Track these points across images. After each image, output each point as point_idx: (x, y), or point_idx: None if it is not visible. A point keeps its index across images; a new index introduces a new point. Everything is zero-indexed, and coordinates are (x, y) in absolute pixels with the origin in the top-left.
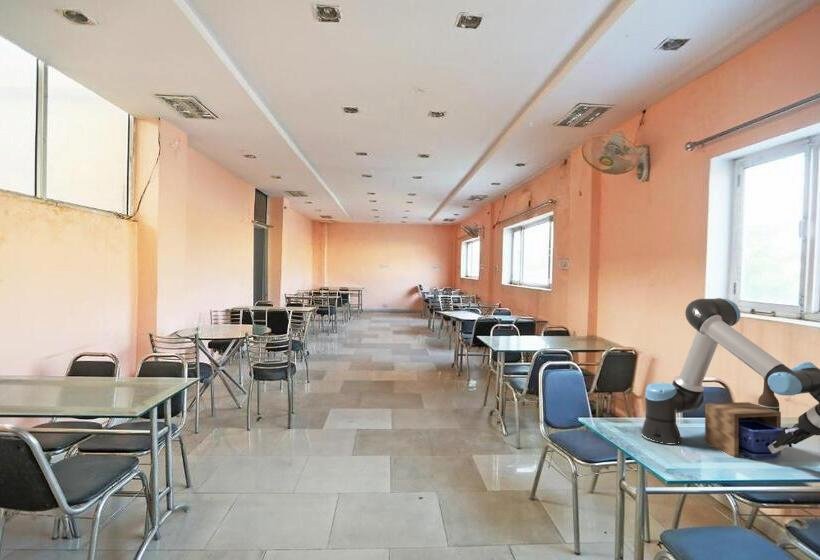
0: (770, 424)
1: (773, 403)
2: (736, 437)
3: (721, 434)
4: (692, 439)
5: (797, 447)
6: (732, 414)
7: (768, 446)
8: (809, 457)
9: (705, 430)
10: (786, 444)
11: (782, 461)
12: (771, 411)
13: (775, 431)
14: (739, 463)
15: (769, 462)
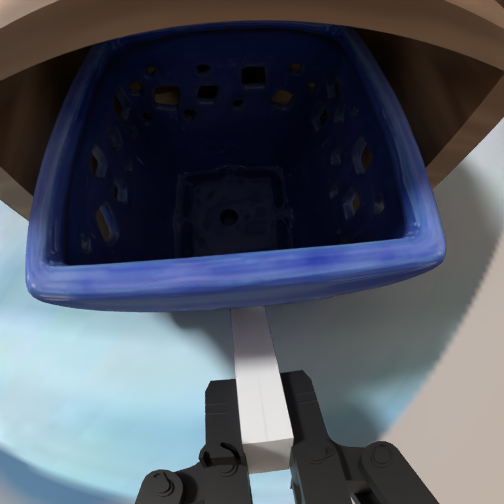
0: (425, 93)
1: (499, 3)
2: None
3: None
4: None
5: (483, 169)
6: None
7: (231, 319)
8: (477, 268)
9: None
10: (289, 463)
11: (321, 327)
12: (485, 8)
13: (344, 283)
14: (54, 339)
15: (227, 342)
